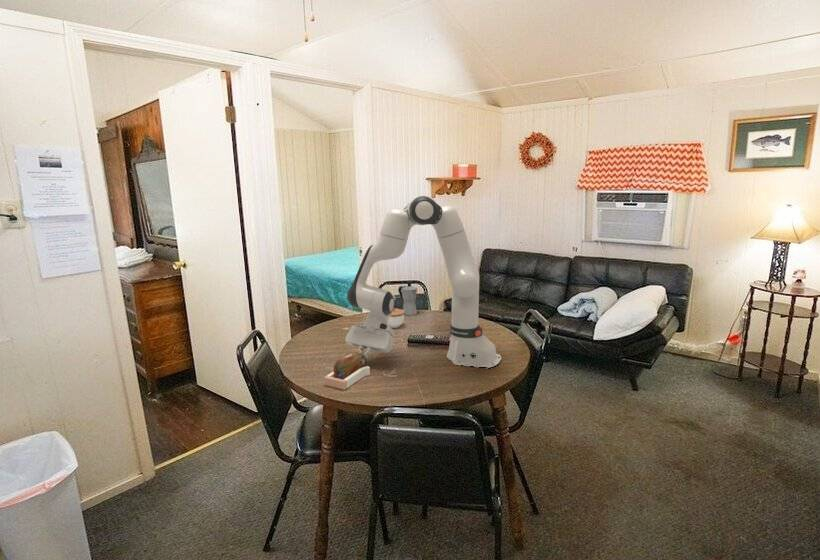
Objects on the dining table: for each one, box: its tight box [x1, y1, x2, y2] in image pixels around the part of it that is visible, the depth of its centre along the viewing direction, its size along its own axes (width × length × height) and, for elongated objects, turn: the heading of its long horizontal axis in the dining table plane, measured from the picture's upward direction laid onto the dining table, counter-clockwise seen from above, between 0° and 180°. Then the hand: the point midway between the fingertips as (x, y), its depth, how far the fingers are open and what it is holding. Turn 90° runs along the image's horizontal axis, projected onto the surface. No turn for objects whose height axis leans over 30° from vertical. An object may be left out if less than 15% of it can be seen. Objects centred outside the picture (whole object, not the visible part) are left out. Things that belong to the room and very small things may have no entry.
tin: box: [333, 351, 367, 380], centre depth 166 cm, size 15×3×8 cm, turn 141°
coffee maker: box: [397, 281, 418, 317], centre depth 244 cm, size 15×9×18 cm, turn 45°
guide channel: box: [323, 365, 371, 391], centre depth 164 cm, size 12×16×3 cm
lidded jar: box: [387, 307, 405, 329], centre depth 223 cm, size 11×11×9 cm
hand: (361, 357), depth 173 cm, fingers closed
